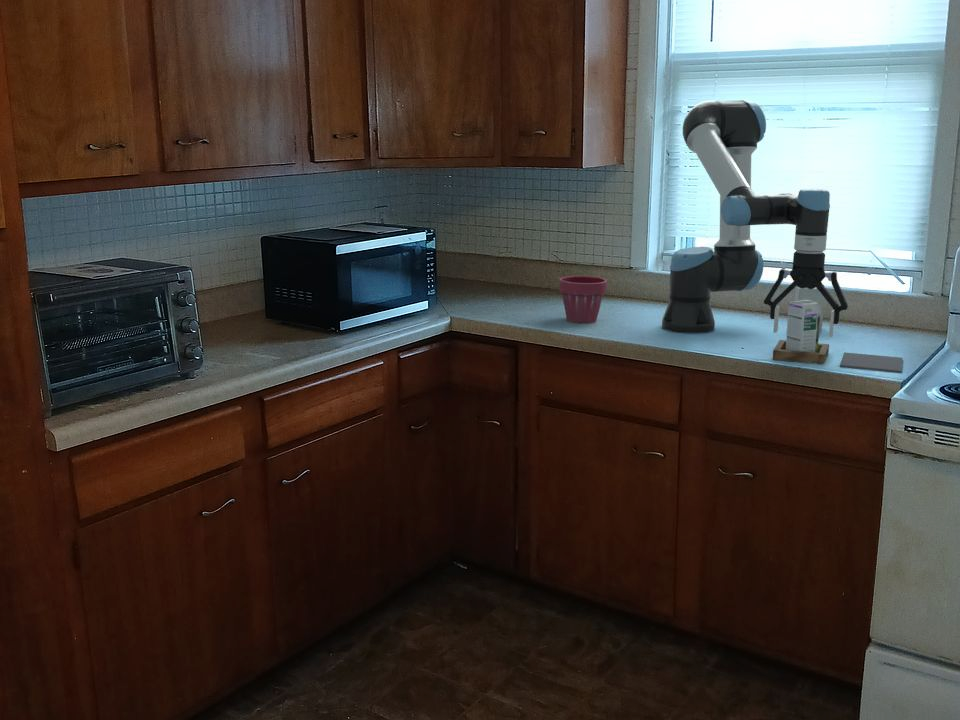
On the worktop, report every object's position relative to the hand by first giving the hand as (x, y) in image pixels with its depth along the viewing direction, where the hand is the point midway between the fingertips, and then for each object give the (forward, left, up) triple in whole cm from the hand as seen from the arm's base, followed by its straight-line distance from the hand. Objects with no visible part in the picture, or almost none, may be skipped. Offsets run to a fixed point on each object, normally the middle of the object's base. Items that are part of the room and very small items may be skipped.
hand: (802, 334), depth 242 cm
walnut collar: (0, 0, -6) cm, 6 cm away
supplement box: (-2, +35, -6) cm, 36 cm away
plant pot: (-66, +20, -6) cm, 69 cm away
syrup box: (0, 0, -6) cm, 6 cm away
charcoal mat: (+17, 0, -6) cm, 18 cm away
